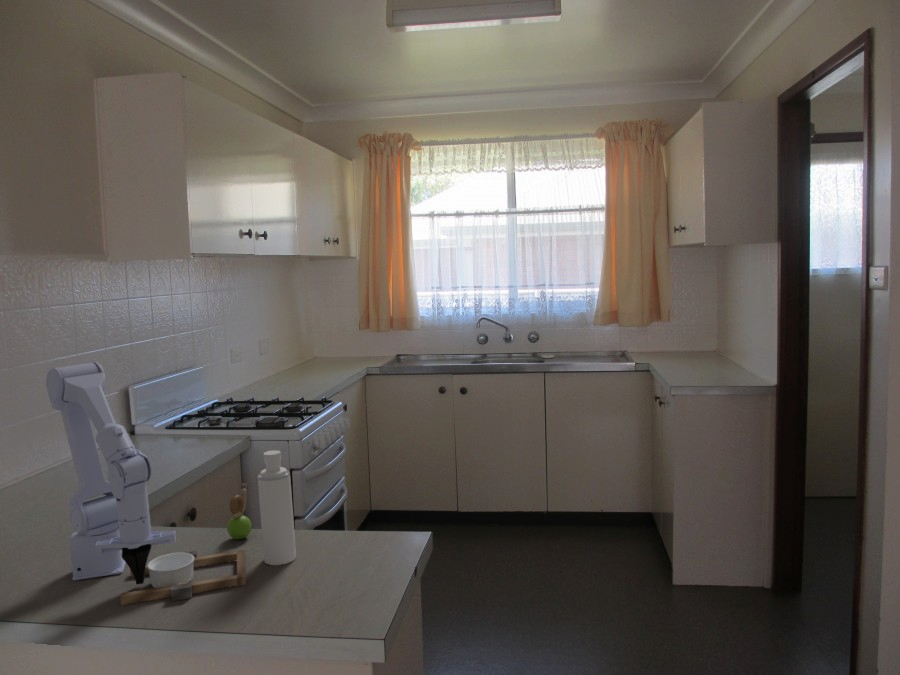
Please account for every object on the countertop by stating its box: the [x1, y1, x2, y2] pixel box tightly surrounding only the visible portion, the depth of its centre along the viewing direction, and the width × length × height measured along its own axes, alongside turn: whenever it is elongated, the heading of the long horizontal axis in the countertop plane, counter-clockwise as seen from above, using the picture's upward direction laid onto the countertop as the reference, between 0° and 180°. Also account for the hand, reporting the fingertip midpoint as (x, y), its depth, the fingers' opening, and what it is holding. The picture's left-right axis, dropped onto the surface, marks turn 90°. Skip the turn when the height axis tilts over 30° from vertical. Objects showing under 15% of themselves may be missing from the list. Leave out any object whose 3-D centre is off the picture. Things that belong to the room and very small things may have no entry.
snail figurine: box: [226, 483, 252, 540], centre depth 166 cm, size 5×6×12 cm
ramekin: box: [146, 552, 194, 588], centre depth 145 cm, size 9×9×4 cm
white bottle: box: [257, 450, 297, 566], centre depth 153 cm, size 7×7×25 cm
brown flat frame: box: [119, 549, 247, 606], centre depth 146 cm, size 23×18×2 cm
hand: (140, 581), depth 144 cm, fingers closed
